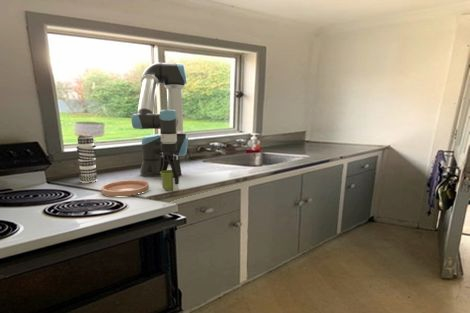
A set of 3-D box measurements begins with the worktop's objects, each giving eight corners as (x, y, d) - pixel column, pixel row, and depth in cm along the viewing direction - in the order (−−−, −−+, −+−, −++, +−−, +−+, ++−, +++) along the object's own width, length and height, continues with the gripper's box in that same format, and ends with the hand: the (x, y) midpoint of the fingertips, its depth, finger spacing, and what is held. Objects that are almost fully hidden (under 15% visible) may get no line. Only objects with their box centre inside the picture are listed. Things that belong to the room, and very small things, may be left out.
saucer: (94, 190, 144) (94, 185, 144) (136, 183, 158) (136, 178, 158) (112, 200, 129) (112, 194, 129) (156, 190, 144) (156, 185, 143)
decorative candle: (90, 178, 168) (87, 133, 164) (102, 180, 164) (98, 134, 160) (75, 182, 160) (71, 135, 156) (87, 184, 156) (83, 135, 152)
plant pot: (162, 192, 141) (161, 174, 139) (159, 187, 149) (158, 170, 148) (182, 190, 145) (181, 172, 143) (177, 185, 153) (177, 168, 152)
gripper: (150, 141, 148) (152, 185, 152) (174, 145, 133) (176, 194, 137) (163, 140, 154) (165, 183, 157) (188, 143, 138) (189, 191, 142)
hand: (170, 188), depth 147 cm, fingers open, 9 cm apart
